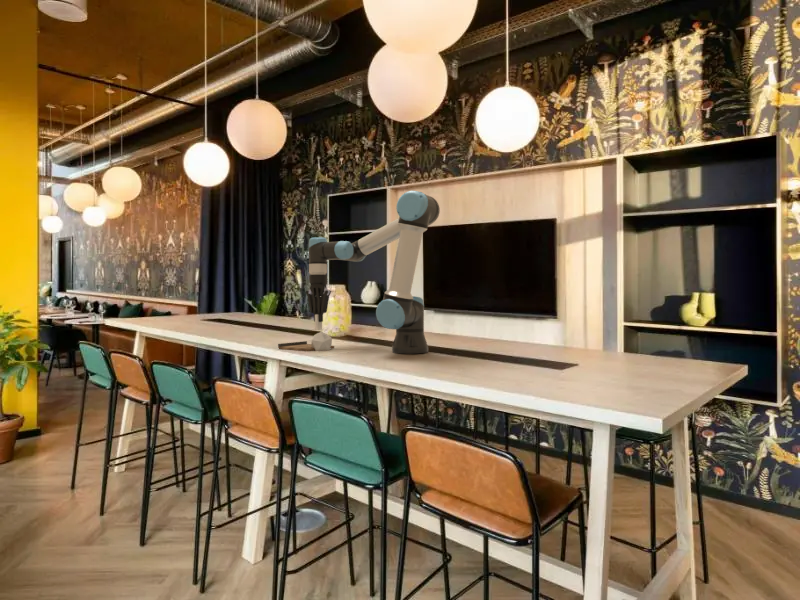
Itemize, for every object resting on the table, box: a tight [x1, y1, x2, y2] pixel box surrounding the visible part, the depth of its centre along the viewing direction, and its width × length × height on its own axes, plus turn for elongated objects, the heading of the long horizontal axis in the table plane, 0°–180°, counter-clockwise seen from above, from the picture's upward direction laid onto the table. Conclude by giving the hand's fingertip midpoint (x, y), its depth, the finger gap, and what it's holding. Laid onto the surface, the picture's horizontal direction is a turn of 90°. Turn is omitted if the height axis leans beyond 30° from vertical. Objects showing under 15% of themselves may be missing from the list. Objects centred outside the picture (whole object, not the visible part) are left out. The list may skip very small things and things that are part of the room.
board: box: [277, 340, 335, 352], centre depth 235 cm, size 18×16×2 cm
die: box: [311, 331, 333, 352], centre depth 228 cm, size 8×9×10 cm
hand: (318, 329), depth 230 cm, fingers closed
